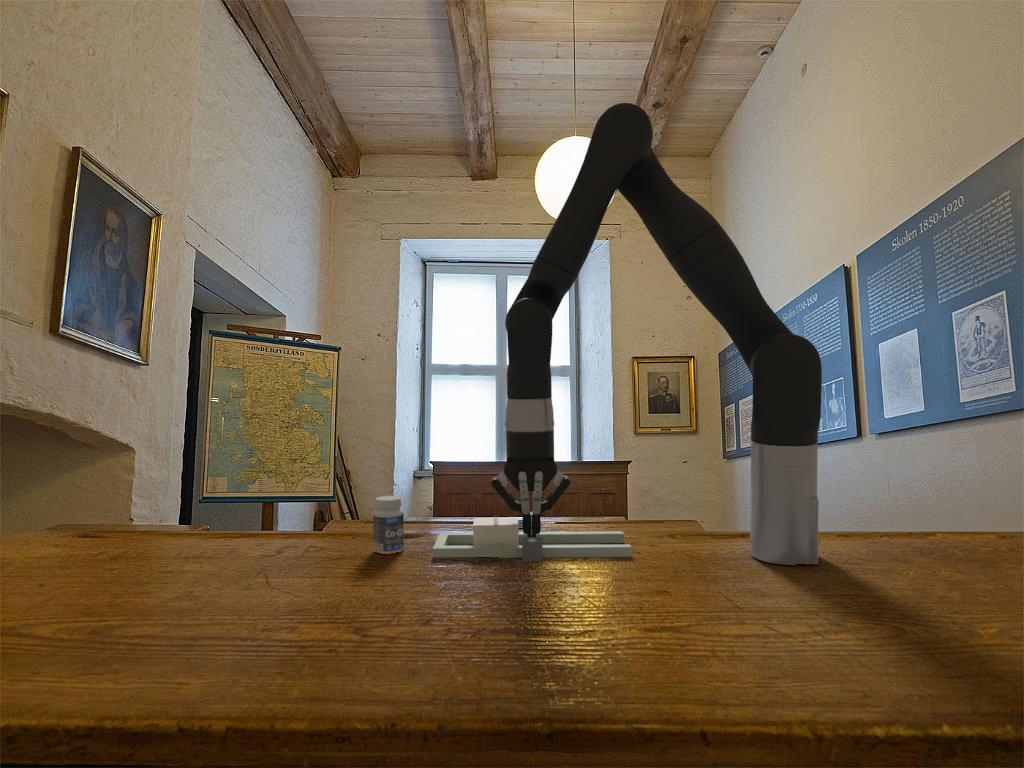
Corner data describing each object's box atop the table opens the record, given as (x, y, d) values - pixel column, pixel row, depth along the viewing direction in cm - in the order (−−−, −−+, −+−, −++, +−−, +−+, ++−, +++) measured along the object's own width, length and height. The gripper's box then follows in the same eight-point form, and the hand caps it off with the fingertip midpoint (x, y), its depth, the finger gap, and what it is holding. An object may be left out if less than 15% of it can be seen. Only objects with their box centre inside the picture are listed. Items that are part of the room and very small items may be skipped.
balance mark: (504, 532, 112) (504, 531, 112) (502, 548, 103) (502, 546, 103) (496, 532, 112) (496, 531, 112) (494, 548, 103) (494, 546, 103)
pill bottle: (388, 556, 104) (387, 502, 103) (367, 551, 107) (366, 498, 106) (410, 549, 108) (409, 497, 107) (389, 544, 110) (389, 493, 110)
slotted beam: (622, 540, 112) (622, 522, 111) (633, 560, 100) (633, 540, 100) (440, 541, 112) (439, 523, 112) (431, 562, 101) (430, 542, 101)
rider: (517, 544, 110) (517, 516, 110) (518, 553, 105) (518, 524, 105) (474, 545, 110) (473, 517, 109) (473, 554, 105) (473, 524, 104)
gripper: (570, 424, 110) (571, 530, 111) (488, 425, 110) (490, 531, 111) (574, 429, 103) (575, 542, 103) (486, 430, 103) (488, 543, 103)
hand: (531, 536), depth 107 cm, fingers closed
